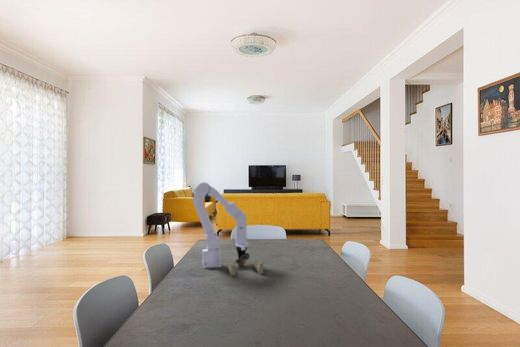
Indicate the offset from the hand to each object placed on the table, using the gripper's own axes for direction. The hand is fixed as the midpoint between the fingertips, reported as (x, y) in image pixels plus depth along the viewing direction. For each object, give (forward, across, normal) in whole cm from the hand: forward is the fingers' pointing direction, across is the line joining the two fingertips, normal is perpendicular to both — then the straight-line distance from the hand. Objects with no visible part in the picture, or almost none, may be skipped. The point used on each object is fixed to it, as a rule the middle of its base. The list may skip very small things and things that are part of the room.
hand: (241, 260), depth 166 cm
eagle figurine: (+2, -3, 0) cm, 4 cm away
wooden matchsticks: (+2, -11, 0) cm, 11 cm away
